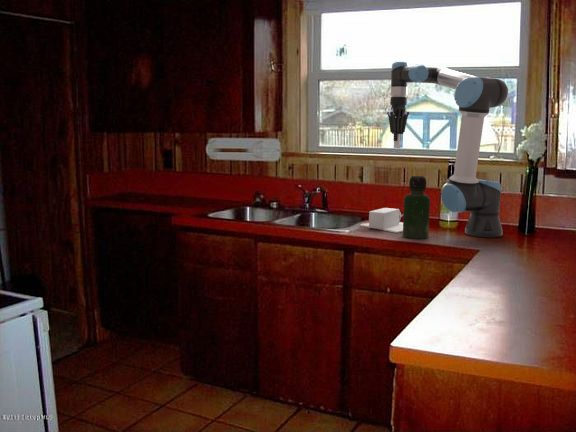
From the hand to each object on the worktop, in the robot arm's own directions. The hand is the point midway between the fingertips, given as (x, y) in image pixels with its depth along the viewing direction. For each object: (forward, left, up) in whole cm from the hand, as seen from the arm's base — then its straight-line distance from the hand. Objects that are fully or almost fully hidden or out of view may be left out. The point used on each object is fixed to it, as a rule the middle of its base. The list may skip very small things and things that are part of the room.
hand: (396, 148), depth 291 cm
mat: (-10, +13, -34) cm, 38 cm away
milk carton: (-10, +24, -30) cm, 40 cm away
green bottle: (-31, +23, -35) cm, 52 cm away
